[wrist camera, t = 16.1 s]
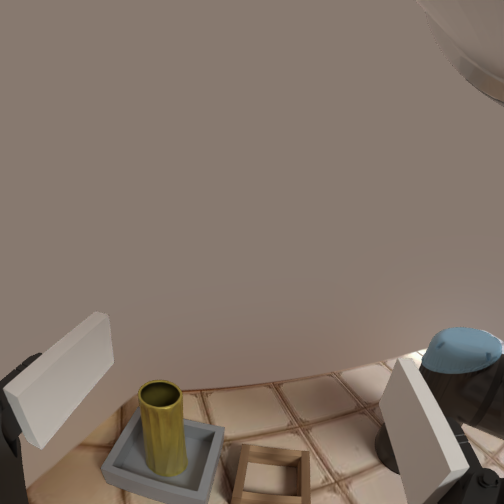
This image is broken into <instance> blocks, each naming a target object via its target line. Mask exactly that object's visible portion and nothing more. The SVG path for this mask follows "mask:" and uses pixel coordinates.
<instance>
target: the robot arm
mask: <svg viewBox="0 0 504 504" xmlns="http://www.w3.org/2000/svg"><path fill="white" fill-rule="evenodd" d="M415 1H416V2H417V3H418V4H419V5H420V6H421V7H422V8H423V9H424V10H425V13H426V17H427V22H428V24H429V27H430V30H431V33H432V34H433V37H434V39H435V41H436V43H437V44H438V46H439V48H440V49H441V51H442V52H443V54H444V55H445V56H446V58H447V59H448V61H449V62H450V63H451V64H452V66H453V67H454V68H455V69H456V70H457V71H458V72H459V73H460V74H461V75H462V76H463V77H464V78H465V79H466V80H467V81H468V82H469V83H471V84H472V85H473V86H474V87H475V88H476V89H478V90H479V91H480V92H482V93H483V94H485V95H486V96H487V97H489V98H490V99H492V100H493V101H495V102H496V103H498V104H499V105H501V106H503V107H504V0H415ZM113 364H114V356H113V348H112V339H111V330H110V320H109V315H108V314H105V313H101V312H97V311H95V312H94V313H93V314H92V315H90V316H89V317H88V318H87V319H85V320H84V321H83V322H81V323H80V324H79V325H78V326H76V327H75V328H74V329H73V330H71V331H70V332H69V333H68V334H67V335H65V336H64V337H63V338H62V339H60V340H59V341H58V342H57V343H56V344H54V345H53V346H52V347H51V348H49V349H48V350H47V351H46V352H45V353H43V354H42V353H38V354H35V355H33V356H30V357H29V358H27V359H26V360H25V361H24V362H23V363H22V365H21V364H20V365H19V366H18V367H16V370H15V369H14V370H13V371H12V372H11V373H9V374H8V375H7V376H6V377H4V378H3V379H2V380H1V381H0V504H29V503H28V498H27V493H26V486H25V480H24V473H23V465H22V457H21V444H20V440H19V437H18V436H19V435H20V433H21V432H23V434H24V436H25V438H26V440H27V441H28V442H29V443H31V444H32V445H34V446H35V447H37V448H39V449H41V450H42V449H43V448H44V447H45V445H46V444H47V443H48V442H49V440H50V439H51V438H52V437H53V435H54V434H55V433H56V432H57V431H58V429H59V428H60V427H61V426H62V424H63V423H64V422H65V421H66V419H67V418H68V417H69V416H70V414H71V413H72V412H73V411H74V410H75V408H76V407H77V406H78V405H79V404H80V403H81V401H82V400H83V399H84V398H85V397H86V395H87V394H88V393H89V392H90V391H91V389H92V388H93V387H94V386H95V385H96V383H97V382H98V381H99V380H100V379H101V378H102V376H103V375H104V374H105V373H106V372H107V371H108V369H109V368H110V367H111V366H112V365H113ZM379 407H380V410H381V413H382V416H383V419H384V423H383V425H382V426H381V428H380V430H379V432H378V434H377V436H376V439H375V448H376V451H377V454H378V456H379V458H380V459H381V461H382V462H383V463H384V464H385V465H386V466H387V467H388V468H390V469H391V470H393V471H394V472H396V473H398V474H400V475H401V479H402V483H403V486H404V490H405V494H406V498H407V502H408V504H504V478H499V476H498V475H497V473H496V472H495V471H493V470H491V469H488V468H482V466H481V464H480V462H479V460H478V458H477V456H476V454H475V452H474V450H473V449H472V447H471V445H470V443H468V439H467V437H466V435H464V434H465V433H464V432H463V430H462V428H461V426H462V424H463V423H464V424H467V425H469V426H472V427H474V428H476V429H479V430H481V431H483V432H486V433H488V434H490V435H493V436H495V437H498V438H500V439H503V440H504V354H502V345H501V343H500V341H499V340H498V339H497V338H496V337H492V336H491V334H489V333H486V332H484V331H481V330H477V329H473V328H464V327H455V328H448V329H444V330H442V331H440V332H439V333H437V334H436V335H435V336H434V337H433V338H432V340H431V342H430V344H429V347H428V349H427V351H426V353H425V354H424V356H423V357H422V363H421V366H420V368H419V370H418V368H417V366H416V365H415V363H414V361H413V359H410V358H397V361H396V363H395V366H394V369H393V371H392V374H391V376H390V379H389V381H388V383H387V386H386V388H385V391H384V393H383V395H382V397H381V400H380V402H379Z"/></svg>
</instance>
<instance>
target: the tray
mask: <svg viewBox="0 0 504 504" xmlns="http://www.w3.org/2000/svg"><path fill="white" fill-rule="evenodd" d="M183 420H184V434H185V445H186V453H187V458H188V465H187V468H186V469H185V470H184V471H183V472H182V473H181V474H179V475H177V476H173V477H164V476H160V475H157V474H155V473H154V472H152V471H151V470H150V469H149V468H148V466H147V464H146V454H145V447H144V438H143V426H142V419H141V413H140V407H137V409H136V411H135V412H134V414H133V416H132V417H131V419H130V421H129V422H128V424H127V425H126V427H125V429H124V430H123V432H122V434H121V435H120V437H119V439H118V440H117V442H116V443H115V445H114V447H113V448H112V450H111V452H110V453H109V455H108V457H107V458H106V460H105V462H104V463H103V465H102V467H101V468H100V469H101V471H102V473H103V476H104V478H105V480H106V482H107V483H108V484H111V485H113V486H116V487H118V488H121V489H124V490H126V491H129V492H132V493H135V494H138V495H141V496H144V497H147V498H150V499H153V500H156V501H160V502H163V503H167V504H208V500H209V497H210V493H211V489H212V485H213V481H214V477H215V474H216V470H217V466H218V462H219V458H220V454H221V450H222V446H223V441H224V431H225V427H220V426H215V425H210V424H205V423H200V422H195V421H191V420H187V419H183Z"/></svg>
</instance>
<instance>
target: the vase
mask: <svg viewBox="0 0 504 504" xmlns="http://www.w3.org/2000/svg"><path fill="white" fill-rule="evenodd" d="M138 400H139V406H140V413H141V419H142V426H143V438H144V447H145V454H146V464H147V466H148V468H149V469H150V470H151V471H152V472H154V473H155V474H157V475H160V476H164V477H173V476H177V475H179V474H181V473H182V472H183V471H184V470H185V469H186V468H187V465H188V458H187V453H186V445H185V434H184V420H183V394H182V391H181V389H180V388H179V387H178V386H177V385H175V384H174V383H172V382H169V381H166V380H153V381H149V382H147V383H145V384H144V385H143V386H141V388H140V389H139V391H138Z"/></svg>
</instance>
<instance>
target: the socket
mask: <svg viewBox="0 0 504 504" xmlns="http://www.w3.org/2000/svg"><path fill="white" fill-rule="evenodd" d="M248 462H252V463H259V464H268V465H277V466H288V467H297V496H282V495H270V494H261V493H253V492H245V491H243V487H244V481H245V475H246V469H247V463H248ZM231 504H311V500H310V456H309V451H299V450H287V449H277V448H268V447H260V446H253V445H246V444H242V448H241V453H240V459H239V464H238V469H237V474H236V479H235V484H234V489H233V494H232V500H231Z"/></svg>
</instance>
